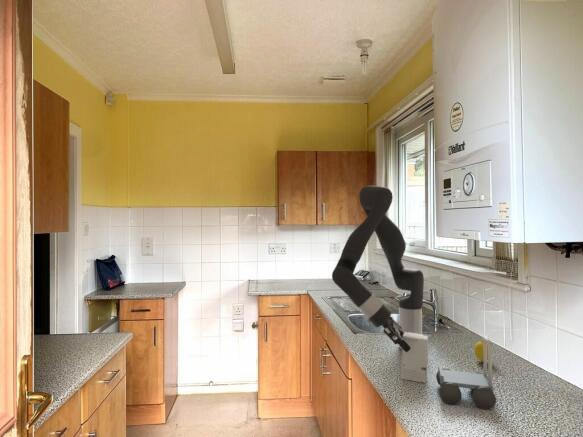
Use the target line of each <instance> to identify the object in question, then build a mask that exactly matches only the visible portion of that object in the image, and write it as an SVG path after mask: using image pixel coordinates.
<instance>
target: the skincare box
mask: <svg viewBox="0 0 583 437" xmlns="http://www.w3.org/2000/svg"><path fill="white" fill-rule="evenodd" d="M403 340H404V341H405V342H406V343H407V344H408V345H409V346H410V347H411V349H410V350H409V351H408V352H405V351H404V350H403V349H401V368H400V371H401V372H400V375H401V376H400V378H401V380H406V381H413V382H417V383H418V382H419V383H422V382H423V384H426V383H427V379H428V362H429V335H428V334H423V333H422V334H418V333H411V332H404V334H403Z"/></svg>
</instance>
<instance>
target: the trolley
mask: <svg viewBox="0 0 583 437" xmlns="http://www.w3.org/2000/svg"><path fill="white" fill-rule="evenodd" d="M482 337H483V340H482V341H483V362H482V363H483V364H482V365H483V373H482V372H480V371H471V372H468V371H457V370H453V369H451V368H447V367H444V368H443V367H442V364H438V365H437V366H438V367H437V369H438V370H437V372H436V375H435V378H436V382H437V384H438V385H439V389H438V393H439V397H440V399H441V400H442V402H443V403H445V404H447V405H450V406H455V405H457V404H459V403H460V402H461V400H462V398H463V397H462V391H461V389H469V390H471V391H472V392H471V398H472V400H473V403H474V404H475V406H476V407H478V408H479V409H482V410H491V409H492V408H494V407H495V405H496V403H497V397H496V395H495V393H494V392H493V391H494V386H493V343H492V342H491V341H490V339H489V338H488V336H487V335H483V336H482ZM487 344H488V360H487ZM460 388H461V389H460Z"/></svg>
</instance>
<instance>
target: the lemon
mask: <svg viewBox="0 0 583 437" xmlns="http://www.w3.org/2000/svg"><path fill="white" fill-rule="evenodd" d="M474 355H475V357H476V358H477V359H478V360H479V361H481V363H483V340H481V341H479V342H476V344H475V346H474ZM487 361H488V343H487Z"/></svg>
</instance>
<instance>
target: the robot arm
mask: <svg viewBox="0 0 583 437" xmlns="http://www.w3.org/2000/svg"><path fill="white" fill-rule="evenodd" d="M393 197H394V196H393V192H392V191H391V189H390V188H388V187H386V186H385V187H384V186H381V185H380V186H379V185H378V186H377V185H365V186H363V187H362V188H361V189H360V191H359V195H358V198H359V203H360V205H361V208H362V210H363V212H364V213H365V215H366V218H365V219H364V220H363V221H362V222H361V224H360V225H358V226H357V227H356V228H355V229H354V230H353V231H352V232H351V233H350V235H349V236H348V238H347V240H346V243H345V244H344V246H343V249H342V250H341V255H340V258H339V259H338V261H337V263H336V265H335V267H334V268H333V269H332V273H331V278H332V281H333V282H334V284H335V285H336V286H338V288H340V290H342V291H343V293H345V295H347V296H348V298H349V299H350V301H351V302H353V303H354V305H355V306H357V308H358V309H359V310H360V312H361V313H362V314H363V316H364V317H366V318H367V320H369V321H370V322H371V324H372V325H373V327H375V328H380V327H382V328H383V330H382V331H383V333H384V334H385V335H386V336H387V337H388V338H389V339H390V341H392V342H393V344H394V345H398V346H399V349H401V350H402V349H403V350H404V351H405V352H408V351H409V350H410V349H411V347H410V346H409V345H408V344H407V343H406V342H405V341H404V340H403V334H404V332H411V333H418V334H423V301H424V287H425V286H424V285H425V283H424V282H425V280H424V279H425V277H424V274H423V271H421V270H420V269H415V268H406V267H404V265H403V263H402V260H403V257H404V254H405V251H406V246H407V245H406V242H405V239H404V238H405V237H404V235H403V233H402V231H401V229H400V228H399V227H398V226H397V225H396V224H395V223H394V221H393V220H392V219H391V218H390V217H388V215H387V212H388V211H389V209H390V207H391V205H392V202H393ZM374 233H375V235H376V237H377V239H378V242H379V245H380V247H381V249H382V251H383V253H384V255H385V258H386V260H387V263H388V266H389V267H390V271H391V275H392V278H393V280H394V284H395V286H396V287H397V289H399V290H402V291H408V292H410V295H409V296H408V297H403V298H402V297H401V298H400V299H399V301H398V323H397V322H396V320H395V319H393V317H392V312H391V311H390V309H388V307H387V306H386V305H385V304H384V303H383V302H382V301H381V300H380V299H379V298H378V297H377V296H376V295H374V294H373V293H372V292H371V291H370V290H369V289H368V288H367V286H365V285H364V284H363V283H362V282H361V281H360V280H359V279H358V278H357V276H356V275H355V274H354V272H355V271H356V270H355V269H356V267H357V264H358V263H359V262H360V260H361V258H362V256H363V253H364V251H365V249H366V246H367V245H368V243H369V240H370V239H371V237H372V235H373V234H374Z"/></svg>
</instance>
